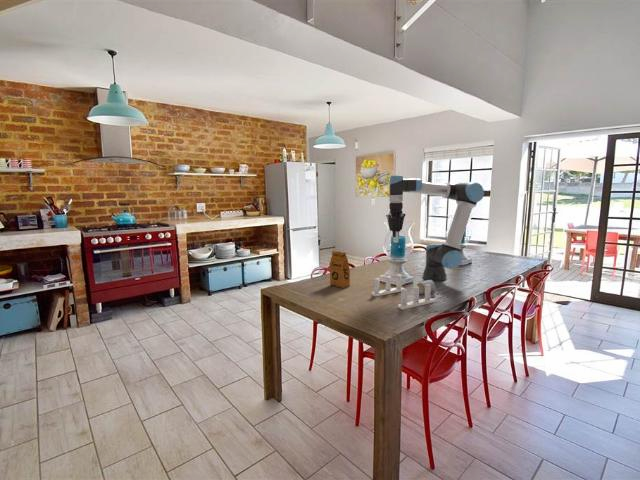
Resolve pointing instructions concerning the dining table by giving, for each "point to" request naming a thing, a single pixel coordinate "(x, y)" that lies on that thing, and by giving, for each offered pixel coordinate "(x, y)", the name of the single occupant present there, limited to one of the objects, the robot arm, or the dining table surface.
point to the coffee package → (339, 270)
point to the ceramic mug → (422, 287)
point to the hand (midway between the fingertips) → (395, 242)
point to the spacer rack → (403, 293)
